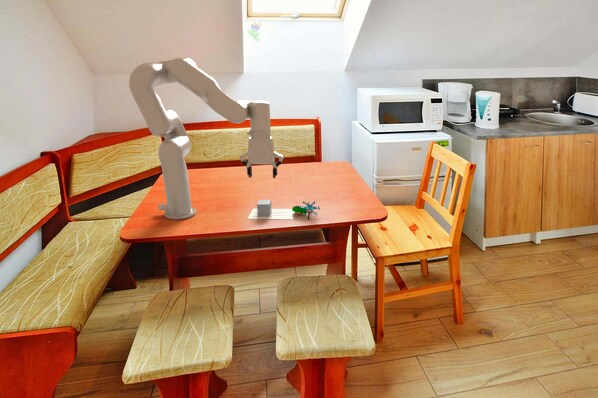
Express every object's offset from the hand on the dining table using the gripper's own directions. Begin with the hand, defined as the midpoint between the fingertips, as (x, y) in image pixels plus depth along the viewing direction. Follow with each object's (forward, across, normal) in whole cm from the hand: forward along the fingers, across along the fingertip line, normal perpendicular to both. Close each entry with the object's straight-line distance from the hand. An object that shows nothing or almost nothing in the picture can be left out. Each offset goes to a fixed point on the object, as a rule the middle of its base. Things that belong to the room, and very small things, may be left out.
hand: (262, 177), depth 167 cm
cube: (+16, 0, 0) cm, 16 cm away
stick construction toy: (+16, +17, -2) cm, 23 cm away
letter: (+16, +3, 0) cm, 16 cm away
